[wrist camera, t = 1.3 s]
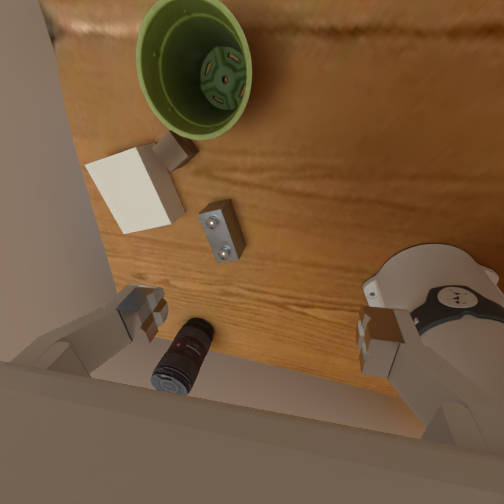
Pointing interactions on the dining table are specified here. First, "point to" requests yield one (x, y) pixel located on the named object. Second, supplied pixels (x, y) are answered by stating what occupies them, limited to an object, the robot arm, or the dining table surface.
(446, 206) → the dining table surface
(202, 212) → the block
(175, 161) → the walnut block
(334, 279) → the dining table surface
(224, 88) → the plant pot
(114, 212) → the stand
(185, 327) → the camera lens
